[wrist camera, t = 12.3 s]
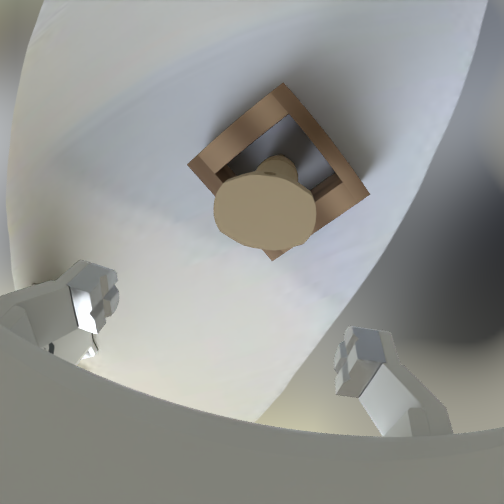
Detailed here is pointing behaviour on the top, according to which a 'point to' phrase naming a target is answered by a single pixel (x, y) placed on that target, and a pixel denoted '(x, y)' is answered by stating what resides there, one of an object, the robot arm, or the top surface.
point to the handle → (266, 207)
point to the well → (256, 124)
